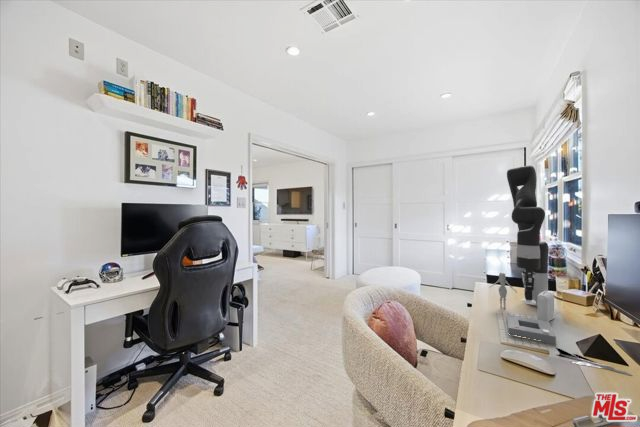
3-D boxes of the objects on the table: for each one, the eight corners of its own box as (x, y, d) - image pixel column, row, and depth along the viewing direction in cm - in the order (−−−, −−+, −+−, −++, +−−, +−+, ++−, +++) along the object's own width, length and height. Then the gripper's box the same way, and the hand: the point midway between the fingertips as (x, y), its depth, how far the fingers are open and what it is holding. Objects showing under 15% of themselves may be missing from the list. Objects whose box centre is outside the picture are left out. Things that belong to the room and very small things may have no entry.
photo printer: (544, 314, 123) (543, 288, 123) (555, 317, 120) (555, 290, 120) (535, 319, 118) (535, 292, 118) (548, 323, 114) (547, 294, 114)
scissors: (633, 383, 74) (633, 375, 74) (538, 353, 90) (538, 347, 90) (632, 372, 80) (632, 364, 80) (542, 346, 95) (542, 339, 95)
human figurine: (518, 310, 129) (518, 274, 129) (516, 312, 126) (516, 275, 126) (490, 304, 138) (489, 270, 138) (488, 306, 135) (487, 271, 135)
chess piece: (517, 300, 108) (517, 276, 108) (528, 300, 109) (528, 276, 109) (528, 304, 103) (528, 279, 103) (539, 304, 104) (539, 279, 104)
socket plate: (506, 321, 116) (506, 312, 116) (548, 328, 109) (548, 319, 109) (508, 335, 103) (508, 325, 103) (555, 344, 95) (555, 334, 95)
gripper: (515, 253, 114) (515, 292, 114) (517, 257, 102) (518, 301, 102) (537, 254, 110) (537, 295, 110) (542, 259, 98) (543, 305, 98)
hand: (528, 298), depth 106 cm, fingers closed on chess piece, 2 cm apart
